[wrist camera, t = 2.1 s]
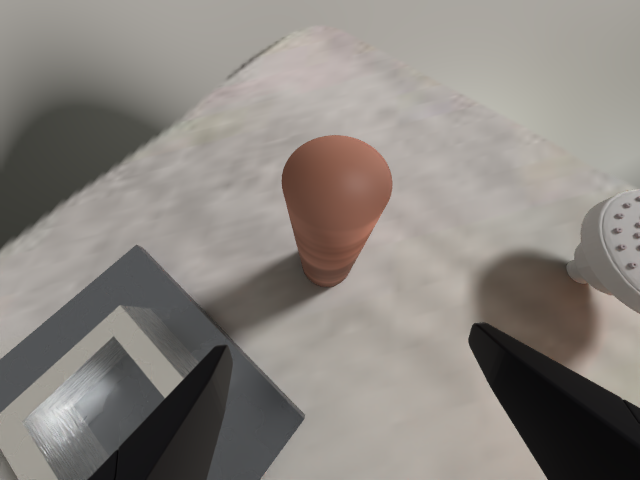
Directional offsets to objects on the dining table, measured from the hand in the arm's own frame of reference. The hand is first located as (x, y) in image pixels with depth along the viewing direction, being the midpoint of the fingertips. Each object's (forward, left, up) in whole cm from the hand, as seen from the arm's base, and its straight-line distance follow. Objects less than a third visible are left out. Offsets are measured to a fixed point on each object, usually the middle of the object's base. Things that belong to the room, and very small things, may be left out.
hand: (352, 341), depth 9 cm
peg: (+6, +2, -12) cm, 13 cm away
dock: (-7, +13, -12) cm, 19 cm away
